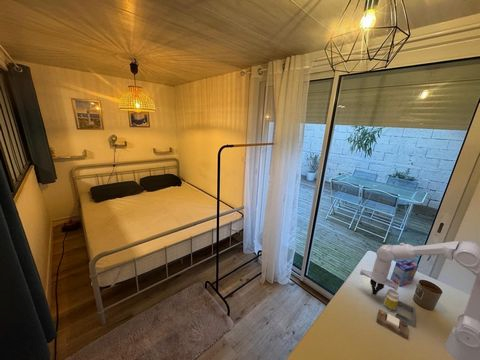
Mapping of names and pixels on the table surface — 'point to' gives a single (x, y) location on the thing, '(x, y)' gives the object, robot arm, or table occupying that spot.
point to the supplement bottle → (391, 300)
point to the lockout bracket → (403, 318)
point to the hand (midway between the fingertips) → (374, 293)
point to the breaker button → (392, 320)
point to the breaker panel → (402, 325)
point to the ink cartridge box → (404, 272)
